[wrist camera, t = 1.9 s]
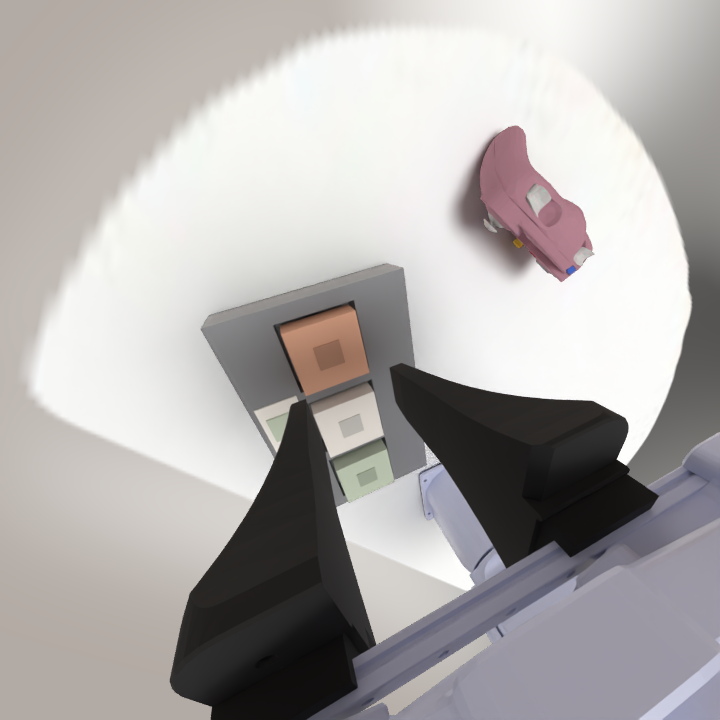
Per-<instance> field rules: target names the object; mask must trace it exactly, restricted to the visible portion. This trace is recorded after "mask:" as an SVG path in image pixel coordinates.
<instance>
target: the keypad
mask: <svg viewBox="0 0 720 720" xmlns="http://www.w3.org/2000/svg"><path fill="white" fill-rule="evenodd" d="M347 304H348V305H350V306H351V307H352V308H353V309H354V310H355V311H356V315H357V320H358V324H359V328H360V333H361V337H362V342H363V346H364V350H365V355H366V359H367V363H368V368H369V372H370V373H367V374H364V375H362V376H359V377H356V378H354V379H351V380H348V381H346V382H343V383H340V384H337V385H335V386H332V387H329V388H327V389H324V390H321V391H319V392H316V393H313V394H311V395H308V396H306V395H305V393H304V391H303V388H302V386H301V383H300V381H299V378H298V376H297V373H296V371H295V368H294V366H293V363H292V361H291V358H290V356H289V353H288V351H287V348H286V346H285V343H284V341H283V338H282V336H281V332H280V326H281V325H284V324H287V323H290V322H293V321H297V320H300V319H303V318H306V317H309V316H312V315H316V314H319V313H322V312H325V311H328V310H331V309H335V308H338V307H341V306H344V305H347ZM201 331H202V332H203V334H204V336H205V338H206V339H207V341H208V343H209V345H210V346H211V348H212V350H213V352H214V353H215V355H216V357H217V359H218V360H219V362H220V364H221V366H222V367H223V369H224V371H225V373H226V374H227V376H228V378H229V380H230V381H231V383H232V385H233V387H234V388H235V390H236V392H237V394H238V395H239V397H240V399H241V401H242V402H243V404H244V406H245V408H246V409H247V411H248V413H249V415H250V416H251V418H252V420H253V422H254V423H255V425H256V427H257V429H258V430H259V432H260V434H261V436H262V437H263V439H264V441H265V443H266V444H267V446H268V448H269V449H270V451H271V453H272V455H273V456H274V458H275V456H276V454H277V451H278V449H279V446H280V443H281V440H282V437H283V434H284V430H285V427H286V423H287V419H288V415H289V410H290V406H291V404H293V403H296V402H299V401H301V400H304V399H306V401H307V404H308V406H309V409H310V411H311V414H312V416H313V419H314V421H315V423H316V420H315V418H314V415H313V412H312V408H311V405H310V403H311V402H313V401H316V400H319V399H321V398H324V397H327V396H329V395H332V394H334V393H337V392H340V391H342V390H345V389H348V388H350V387H353V386H356V385H358V384H361V383H363V382H366V381H367V382H368V384H369V385H370V386H371V388H372V389H373V391H374V394H375V398H376V403H377V407H378V412H379V416H380V420H381V425H382V429H383V434H384V435H383V436H381V437H379V438H376V439H374V440H371V441H369V442H367V443H364V444H362V445H360V446H357V447H355V448H353V449H350V450H348V451H346V452H343V453H341V454H339V455H336V456H334V457H332V458H331V457H330V455H329V453H328V450H327V448H326V445H325V443H324V440H323V438H322V435H321V433H320V430H319V428H318V425H317V423H316V426H317V428H318V431H319V433H320V437H321V440H322V443H323V446H324V450H325V453H326V458H327V463H328V468H329V474H330V479H331V484H332V490H333V495H334V500H335V505H336V507H337V506H340V505H342V504H344V503H346V502H348V500H347V497H346V495H345V492H344V490H343V487H342V485H341V482H340V480H339V477H338V475H337V472H336V469H335V466H334V463H333V460H332V459H334V458H336V457H338V456H341V455H343V454H345V453H348V452H350V451H352V450H355V449H357V448H359V447H362V446H364V445H366V444H369V443H371V442H373V441H376V440H378V439H380V438H381V439H382V441H383V443H384V444H385V446H386V448H387V451H388V455H389V460H390V464H391V469H392V473H393V477H394V480H395V479H398V478H400V477H402V476H404V475H406V474H408V473H410V472H413V471H415V470H417V469H419V468H421V467H423V466H425V465H427V464H426V455H425V447H424V441H423V440H422V438H421V437H420V436H419V435H418V434H417V432H416V431H415V430H414V429H413V427H412V426H411V425H410V424H409V422H408V421H407V420H406V418H405V417H404V415H403V414H402V412H401V411H400V409H399V407H398V406H397V404H396V402H395V397H394V391H393V386H392V380H391V374H390V369H389V367H392V366H395V365H397V364H400V363H403V364H406V365H409V366H411V367H414V368H415V362H414V354H413V345H412V337H411V328H410V320H409V312H408V303H407V295H406V286H405V278H404V269H403V268H402V267H398V266H394V265H390V264H383V265H380V266H377V267H373V268H370V269H366V270H363V271H360V272H356V273H353V274H349V275H346V276H342V277H339V278H336V279H332V280H329V281H325V282H322V283H319V284H315V285H312V286H308V287H305V288H302V289H298V290H295V291H291V292H288V293H284V294H281V295H278V296H274V297H271V298H267V299H264V300H261V301H257V302H254V303H250V304H247V305H243V306H240V307H237V308H233V309H230V310H226V311H223V312H220V313H216V314H213V315H209V316H208V318H207V319H206V321H205V322H204V324H203V326H202V327H201Z"/></svg>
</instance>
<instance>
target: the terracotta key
mask: <svg viewBox="0 0 720 720" xmlns="http://www.w3.org/2000/svg"><path fill="white" fill-rule="evenodd" d="M280 332H281V336H282V338H283V341H284V343H285V346H286V348H287V351H288V353H289V356H290V358H291V361H292V363H293V366H294V368H295V371H296V373H297V376H298V378H299V381H300V383H301V386H302V388H303V391H304V393H305V395H306V396H308V395H311V394H313V393H316V392H319V391H321V390H324V389H327V388H329V387H332V386H335V385H337V384H340V383H343V382H346V381H348V380H351V379H354V378H356V377H359V376H362V375H364V374H367V373H370V372H369V368H368V363H367V359H366V355H365V350H364V346H363V342H362V337H361V333H360V328H359V324H358V320H357V315H356V311H355V310H354V309H353V308H352V307H351V306H350V305H348V304H347V305H344V306H341V307H338V308H335V309H331V310H328V311H325V312H322V313H319V314H316V315H312V316H309V317H306V318H303V319H300V320H297V321H293V322H290V323H287V324H284V325H281V326H280Z"/></svg>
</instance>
